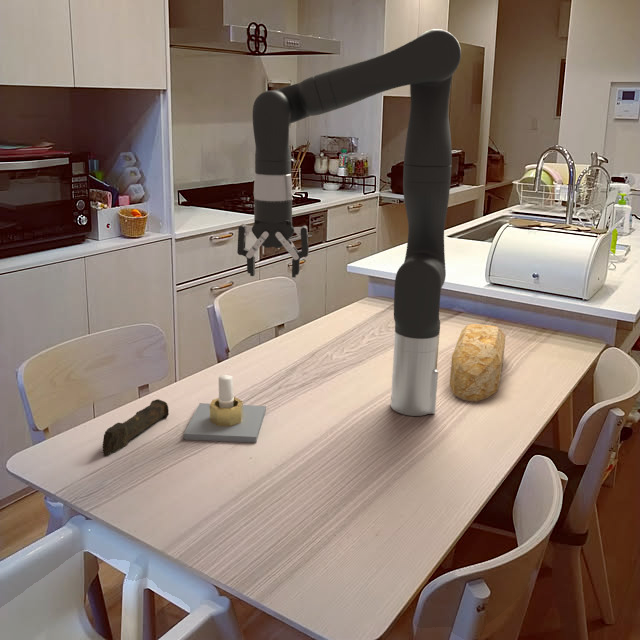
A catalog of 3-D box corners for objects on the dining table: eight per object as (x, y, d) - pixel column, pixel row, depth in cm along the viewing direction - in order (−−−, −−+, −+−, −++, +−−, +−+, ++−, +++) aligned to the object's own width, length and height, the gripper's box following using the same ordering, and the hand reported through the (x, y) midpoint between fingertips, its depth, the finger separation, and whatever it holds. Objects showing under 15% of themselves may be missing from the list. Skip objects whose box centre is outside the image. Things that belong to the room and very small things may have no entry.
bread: (495, 405, 155) (499, 362, 152) (445, 398, 158) (448, 356, 155) (504, 351, 188) (508, 315, 184) (463, 346, 191) (466, 310, 187)
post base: (265, 411, 149) (265, 366, 146) (256, 442, 136) (255, 393, 133) (200, 408, 150) (198, 363, 147) (184, 439, 136) (181, 390, 133)
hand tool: (153, 414, 147) (152, 394, 146) (170, 418, 146) (168, 397, 144) (91, 455, 131) (89, 432, 129) (109, 459, 129) (107, 436, 128)
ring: (244, 413, 145) (244, 397, 144) (239, 426, 139) (239, 410, 138) (214, 411, 146) (214, 396, 144) (208, 425, 140) (207, 409, 139)
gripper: (310, 194, 143) (309, 272, 148) (240, 193, 144) (241, 270, 149) (307, 200, 136) (306, 282, 141) (234, 198, 137) (235, 279, 142)
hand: (273, 276), depth 145 cm, fingers open, 8 cm apart
